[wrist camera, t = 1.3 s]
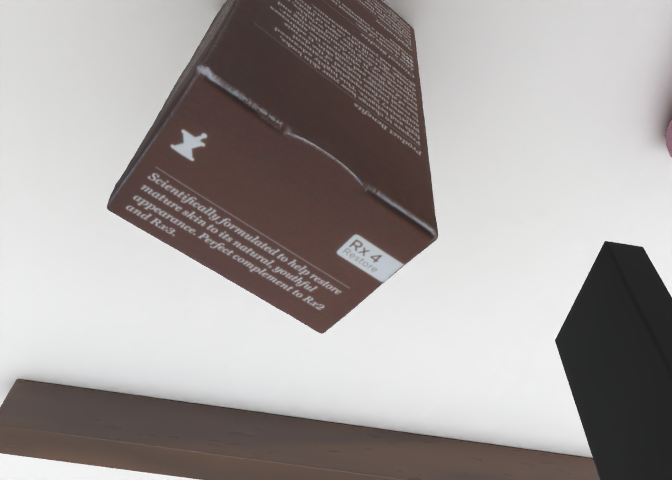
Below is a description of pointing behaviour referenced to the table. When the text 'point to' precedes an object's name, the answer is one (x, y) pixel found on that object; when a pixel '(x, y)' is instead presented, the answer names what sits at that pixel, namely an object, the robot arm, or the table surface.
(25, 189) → the table surface
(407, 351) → the table surface
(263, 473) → the straight edge
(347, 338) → the table surface
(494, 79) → the table surface
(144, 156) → the box
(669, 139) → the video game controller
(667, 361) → the robot arm
